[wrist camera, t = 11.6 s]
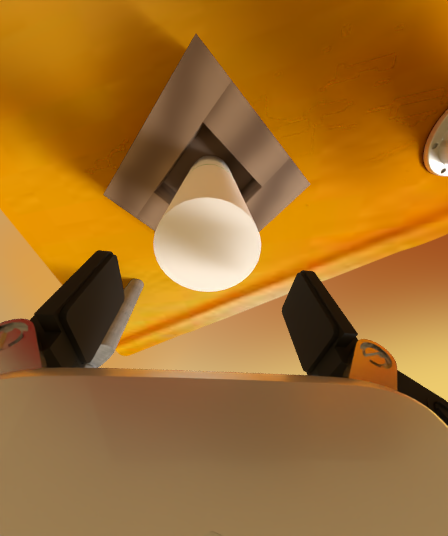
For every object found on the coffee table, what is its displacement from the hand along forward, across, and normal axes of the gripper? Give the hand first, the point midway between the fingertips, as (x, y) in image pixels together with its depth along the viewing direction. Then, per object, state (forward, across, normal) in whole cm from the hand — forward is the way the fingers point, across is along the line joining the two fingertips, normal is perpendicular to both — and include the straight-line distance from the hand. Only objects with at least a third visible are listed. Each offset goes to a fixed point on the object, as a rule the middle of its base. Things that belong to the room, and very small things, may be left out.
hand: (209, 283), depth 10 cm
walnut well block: (+29, +1, 0) cm, 29 cm away
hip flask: (+29, +20, +31) cm, 47 cm away
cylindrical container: (+28, 0, 0) cm, 29 cm away
